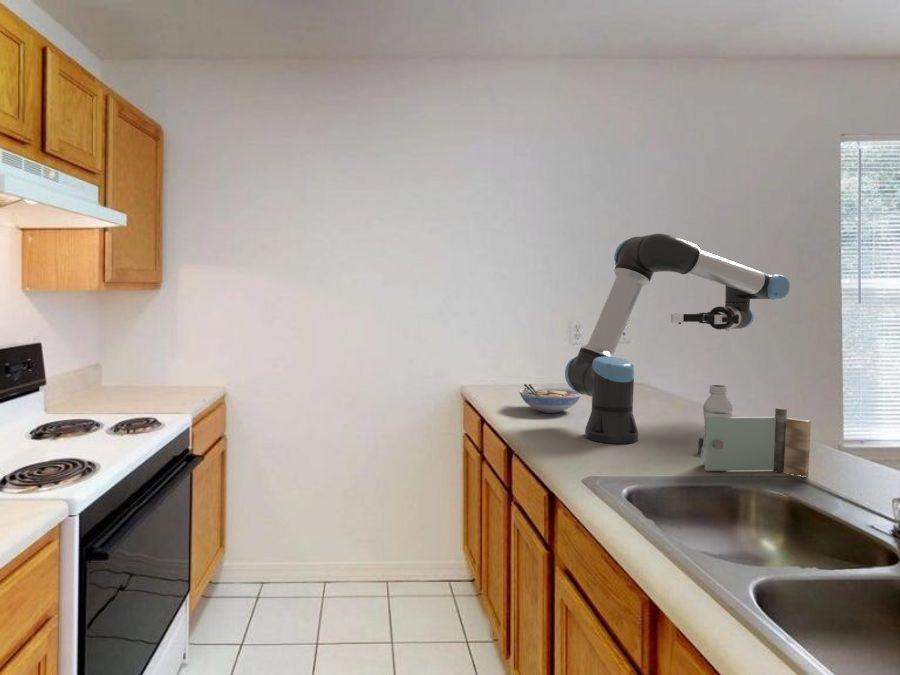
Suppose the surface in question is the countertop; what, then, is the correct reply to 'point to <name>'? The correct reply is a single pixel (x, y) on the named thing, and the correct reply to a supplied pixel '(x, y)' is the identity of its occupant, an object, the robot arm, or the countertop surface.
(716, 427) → the gate
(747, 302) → the robot arm
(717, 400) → the plastic bottle
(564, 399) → the ramen bowl
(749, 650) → the countertop surface
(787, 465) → the brown wooden panel
